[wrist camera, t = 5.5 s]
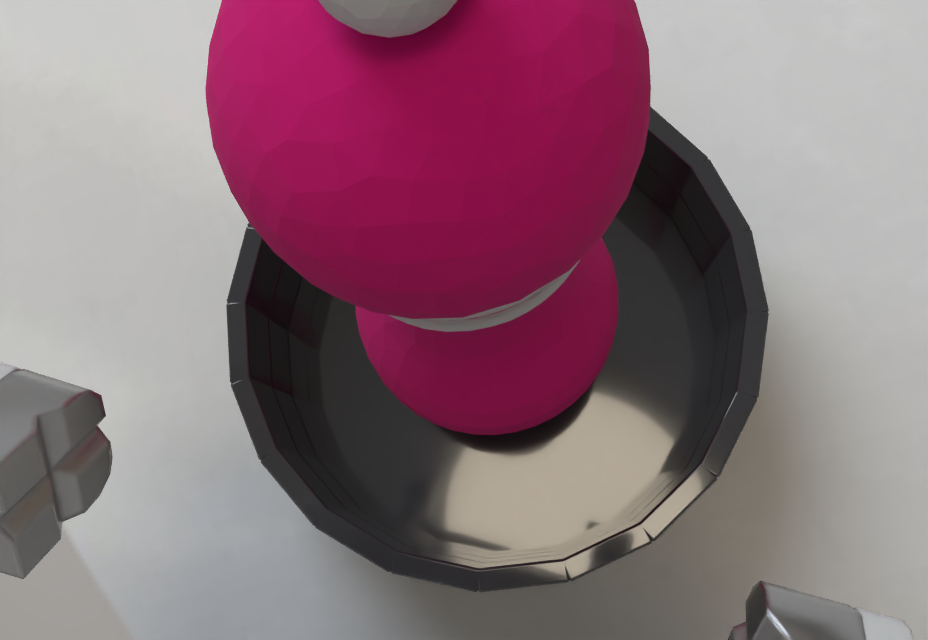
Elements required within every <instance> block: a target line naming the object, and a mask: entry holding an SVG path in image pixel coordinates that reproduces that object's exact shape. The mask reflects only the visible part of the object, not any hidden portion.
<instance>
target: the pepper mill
mask: <svg viewBox="0 0 928 640" xmlns="http://www.w3.org/2000/svg"><path fill="white" fill-rule="evenodd" d="M650 90H651V85H650V67H649V49H648V45H647V42H646V38H645V35H644V31H643V28H642V24H641V21H640V17H639V14H638V10H637V7H636V3H635V1H634V0H222V3H221V6H220V10H219V13H218V17H217V20H216V24H215V28H214V31H213V35H212V38H211V42H210V46H209V57H208V68H207V80H206V103H207V109H208V116H209V122H210V129H211V135H212V142H213V147H214V150H215V152H216V155H217V157H218V160H219V163H220V165H221V168H222V170H223V173H224V175H225V178H226V180H227V183H228V185H229V188H230V190H231V192H232V194H233V196H234V197H235V199H236V201H237V202H238V204H239V206H240V207H241V209H242V211H243V213H244V214H245V216H246V218H247V219H248V221H249V222H250V224H251V225H252V226H253V227H254V229H255V230H256V231H257V232H258V233H259V235H260V236H261V237H262V238H263V240H264V241H265V242H266V243H267V244H268V246H269V247H270V248H271V249H272V251H273V252H274V253H275V254H276V255H278V256H279V257H280V258H281V259H282V260H284V261H285V262H286V263H287V264H288V265H289V266H291V267H292V268H293V269H294V270H295V271H297V272H298V273H299V274H300V275H301V276H302V277H304V278H305V279H306V280H307V281H308V282H310V283H311V284H312V285H314V286H316V287H318V288H320V289H321V290H323V291H325V292H327V293H329V294H330V295H332V296H334V297H336V298H339V299H341V300H344V301H346V302H349V303H351V304H354V305H356V319H357V324H358V329H359V334H360V337H361V340H362V342H363V345H364V348H365V350H366V353H367V356H368V358H369V360H370V361H371V363H372V365H373V366H374V368H375V370H376V371H377V373H378V375H379V376H380V378H381V380H382V381H383V383H384V384H385V385H386V387H387V388H388V389H389V390H390V391H391V392H392V393H393V394H394V395H395V396H396V397H397V399H398V400H399V401H400V402H401V403H402V404H404V405H405V406H406V407H408V408H409V409H410V410H412V411H413V412H414V413H416V414H417V415H419V416H421V417H422V418H424V419H426V420H428V421H430V422H432V423H433V424H436V425H439V426H441V427H444V428H447V429H450V430H453V431H458V432H463V433H468V434H475V435H498V434H506V433H513V432H518V431H521V430H524V429H528V428H531V427H534V426H537V425H539V424H541V423H543V422H545V421H547V420H549V419H551V418H553V417H555V416H557V415H558V414H560V413H561V412H562V411H564V410H565V409H567V408H568V407H569V406H571V405H572V404H573V403H574V402H575V401H576V400H577V399H579V398H580V397H581V396H582V395H583V394H584V393H585V392H586V391H587V390H588V388H589V387H590V385H591V384H592V383H593V381H594V380H595V378H596V377H597V376H598V374H599V373H600V371H601V370H602V368H603V366H604V364H605V362H606V359H607V357H608V355H609V352H610V350H611V347H612V345H613V340H614V336H615V331H616V327H617V322H618V283H617V279H616V274H615V269H614V264H613V260H612V258H611V256H610V254H609V251H608V249H607V247H606V245H605V243H604V241H603V239H602V236H603V235H604V233H605V232H606V230H607V228H608V227H609V225H610V224H611V222H612V220H613V219H614V217H615V216H616V214H617V213H618V211H619V209H620V208H621V206H622V205H623V203H624V201H625V200H626V198H627V197H628V194H629V191H630V189H631V186H632V183H633V181H634V178H635V175H636V172H637V170H638V167H639V164H640V162H641V159H642V156H643V154H644V150H645V144H646V138H647V132H648V127H649V121H650Z"/></svg>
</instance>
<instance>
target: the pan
mask: <svg viewBox="0 0 928 640" xmlns="http://www.w3.org/2000/svg"><path fill="white" fill-rule="evenodd" d="M602 239H603V241H604V243H605V245H606V247H607V249H608V251H609V254H610V256H611V258H612V260H613V264H614V269H615V274H616V279H617V283H618V322H617V327H616V331H615V336H614V340H613V345H612V347H611V350H610V352H609V355H608V357H607V359H606V362H605V364H604V366H603V368H602V370H601V371H600V373H599V374H598V376H597V377H596V378H595V380H594V381H593V383H592V384H591V385H590V387H589V388H588V390H587V391H586V392H585V393H584V394H583V395H582V396H581V397H580V398H579V399H577V400H576V401H575V402H574V403H573V404H572V405H571V406H569V407H568V408H567V409H565V410H564V411H562V412H561V413H560V414H558V415H557V416H555V417H553V418H551V419H549V420H547V421H545V422H543V423H541V424H539V425H537V426H534V427H531V428H528V429H524V430H521V431H518V432H513V433H506V434H498V435H475V434H468V433H463V432H458V431H453V430H450V429H447V428H444V427H441V426H439V425H436V424H433V423H432V422H430V421H428V420H426V419H424V418H422V417H421V416H419V415H417V414H416V413H414V412H413V411H412V410H410V409H409V408H408V407H406V406H405V405H404V404H402V403H401V402H400V401H399V400H398V399H397V397H396V396H395V395H394V394H393V393H392V392H391V391H390V390H389V389H388V388H387V387H386V385H385V384H384V383H383V381H382V380H381V378H380V376H379V375H378V373H377V371H376V370H375V368H374V366H373V365H372V363H371V361H370V360H369V358H368V356H367V353H366V350H365V348H364V345H363V342H362V340H361V337H360V334H359V329H358V324H357V319H356V305H354V304H351V303H349V302H346V301H344V300H341V299H339V298H336V297H334V296H332V295H330V294H329V293H327V292H325V291H323V290H321V289H320V288H318V287H316V286H314V285H312V284H311V283H310V282H308V281H307V280H306V279H305V278H304V277H302V276H301V275H300V274H299V273H298V272H297V271H295V270H294V269H293V268H292V267H291V266H289V265H288V264H287V263H286V262H285V261H284V260H282V259H281V258H280V257H279V256H278V255H276V254H275V253H274V252H273V251H272V249H271V248H270V247H269V246H268V244H267V243H266V242H265V241H264V240H263V238H262V237H261V236H260V235H259V233H258V232H257V231H256V230H255V229H254V227H253V226H252V225H251V224H250V222H249V223H248V227H247V228H246V231H245V235H244V239H243V243H242V246H241V250H240V254H239V258H238V261H237V265H236V269H235V273H234V276H233V280H232V284H231V288H230V291H229V295H228V299H227V326H228V347H229V368H230V382H231V383H232V384H231V387H232V390H233V392H234V395H235V398H236V400H237V403H238V405H239V408H240V411H241V413H242V416H243V418H244V421H245V424H246V426H247V429H248V431H249V434H250V437H251V439H252V442H253V444H254V447H255V450H256V452H257V455H258V457H259V459H260V460H261V463H262V464H263V466H264V467H265V468H266V469H267V470H268V472H269V473H270V474H271V475H272V476H273V478H274V479H275V480H276V481H277V482H278V484H279V485H280V486H281V487H282V488H283V490H284V491H285V492H286V493H287V494H288V496H289V497H290V498H291V499H292V500H293V502H294V503H295V504H296V505H297V506H298V508H299V509H300V510H301V511H302V512H303V514H304V515H305V516H306V517H307V519H308V520H309V521H310V522H311V523H312V525H314V526H315V527H316V528H317V529H318V530H320V531H322V532H323V533H325V534H327V535H328V536H330V537H332V538H333V539H335V540H336V541H338V542H340V543H341V544H343V545H345V546H346V547H348V548H350V549H351V550H353V551H355V552H356V553H358V554H359V555H361V556H363V557H364V558H366V559H368V560H369V561H371V562H373V563H374V564H376V565H377V566H379V567H381V568H382V569H384V570H386V571H387V572H391V573H393V574H397V575H402V576H406V577H411V578H415V579H420V580H424V581H429V582H433V583H438V584H442V585H447V586H451V587H456V588H460V589H465V590H469V591H474V592H477V591H479V592H487V591H496V590H504V589H513V588H522V587H531V586H540V585H549V584H558V583H566V582H569V580H570V581H573V580H575V579H577V578H579V577H582V576H584V575H586V574H588V573H590V572H592V571H594V570H596V569H598V568H601V567H603V566H605V565H607V564H609V563H611V562H613V561H615V560H617V559H619V558H622V557H624V556H626V555H628V554H630V553H632V552H634V551H636V550H638V549H641V548H643V547H645V546H647V545H649V544H651V543H652V541H655V540H656V539H657V538H658V537H659V536H660V535H661V534H662V533H663V532H664V531H665V530H666V529H667V528H668V527H669V526H671V525H672V524H673V523H674V522H675V521H676V520H677V519H678V518H679V517H680V516H681V515H682V514H683V513H684V512H685V511H686V510H687V509H688V508H689V507H690V506H691V505H692V504H693V503H694V502H695V501H696V500H697V499H698V498H699V497H700V496H701V495H702V494H703V493H704V492H705V491H706V490H707V489H708V488H709V487H710V486H711V485H712V484H713V483H714V482H715V481H716V480H717V477H719V476H720V474H721V472H722V470H723V468H724V466H725V464H726V462H727V460H728V458H729V456H730V454H731V452H732V450H733V448H734V446H735V444H736V442H737V440H738V438H739V436H740V434H741V432H742V430H743V428H744V426H745V424H746V422H747V420H748V418H749V416H750V414H751V412H752V410H753V408H754V406H755V403H756V401H757V398H758V396H759V387H760V379H761V371H762V363H763V355H764V347H765V339H766V331H767V323H768V315H769V314H768V305H767V301H766V296H765V291H764V287H763V282H762V277H761V272H760V268H759V263H758V258H757V254H756V249H755V244H754V239H753V235H752V231H751V230H750V227H749V225H748V223H747V222H746V220H745V218H744V217H743V215H742V213H741V212H740V210H739V208H738V206H737V205H736V203H735V201H734V200H733V198H732V196H731V195H730V193H729V191H728V190H727V188H726V186H725V184H724V183H723V181H722V179H721V178H720V176H719V174H718V173H717V171H716V169H715V168H714V166H713V164H712V163H711V161H710V160H709V159H708V157H707V156H706V155H705V154H704V153H702V152H701V151H700V150H699V149H698V148H697V147H696V146H694V145H693V144H692V143H691V142H690V141H689V140H688V139H687V138H685V137H684V136H683V135H682V134H681V133H680V132H679V131H677V130H676V129H675V128H674V127H673V126H672V125H671V124H669V123H668V122H667V121H666V120H665V119H664V118H663V117H662V116H660V115H659V114H658V113H657V112H656V111H655V110H654V109H652V108H651V107H650V121H649V127H648V132H647V138H646V144H645V150H644V154H643V156H642V159H641V162H640V164H639V167H638V170H637V172H636V175H635V178H634V181H633V183H632V186H631V189H630V191H629V194H628V197H627V198H626V200H625V201H624V203H623V205H622V206H621V208H620V209H619V211H618V213H617V214H616V216H615V217H614V219H613V220H612V222H611V224H610V225H609V227H608V228H607V230H606V232H605V233H604V235H603V236H602Z"/></svg>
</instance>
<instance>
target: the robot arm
mask: <svg viewBox="0 0 928 640" xmlns="http://www.w3.org/2000/svg"><path fill="white" fill-rule="evenodd" d="M105 416H106V414H105V410H104V406H103V401H102V397H101V395H99V394H97V393H95V392H93V391H91V390H89V389H86V388H82V387H79V386H76V385H73V384H70V383H67V382H63V381H60V380H57V379H54V378H51V377H48V376H44V375H41V374H38V373H35V372H32V371H29V370H25V369H20V368H17V367H14V366H11V365H7V364H4V363H1V362H0V572H1V573H5V574H8V575H11V576H14V577H18V578H21V579H24V578H25V577H26V576H27V575H28V574H29V573H30V571H31V570H32V569H33V568H34V567H35V566H36V565H37V564H38V563H39V562H40V561H41V560H42V559H43V557H44V556H45V555H46V554H47V553H48V552H49V551H50V550H51V549H52V548H53V547H54V546H55V544H56V543H57V542H58V541H59V540H60V539H61V532H62V522H63V521H65V520H68V519H70V518H73V517H75V516H77V515H80V514H82V513H85V512H86V511H87V510H88V508H89V507H90V506H91V505H92V504H93V503H94V502H95V500H96V499H97V498H98V497H99V496H100V494H101V492H102V490H103V488H104V486H105V484H106V482H107V480H108V477H109V475H110V471H111V464H112V450H111V444H110V441H109V440H108V439H107V437H106V436H105V435H104V434H103V432H102V431H101V430H100V428H99V427H98V426H97V425H98V424H99V423H100V422H101V421H102V420H103V418H104V417H105ZM728 640H914V639H913V635H912V631H911V629H910V628H909V626H908V625H907V624H906V622H905V621H904V620H900V619H896V618H893V617H889V616H886V615H882V614H878V613H875V612H871V611H868V610H864V609H860V608H857V607H854V608H852V607H851V606H850V605H847V604H843V603H839V602H836V601H832V600H828V599H825V598H821V597H817V596H814V595H810V594H807V593H803V592H799V591H796V590H792V589H788V588H785V587H781V586H777V585H774V584H770V583H767V582H763V581H759V582H758V583H757V584H756V585H755V586H754V587H753V589H752V591H751V592H750V594H749V596H748V598H747V600H746V622H744V623H742V624H739V625H737V626H734V627H733V629H732V631H731V633H730V636H729V638H728Z"/></svg>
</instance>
